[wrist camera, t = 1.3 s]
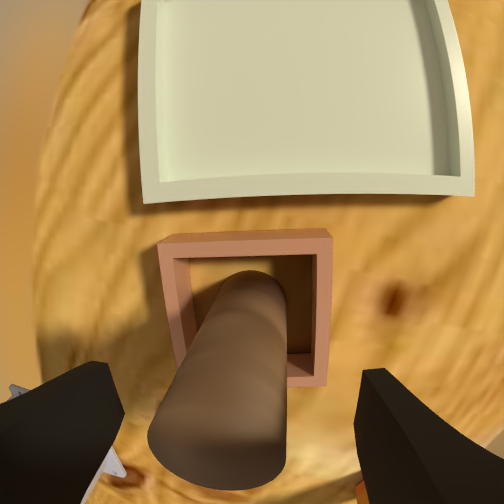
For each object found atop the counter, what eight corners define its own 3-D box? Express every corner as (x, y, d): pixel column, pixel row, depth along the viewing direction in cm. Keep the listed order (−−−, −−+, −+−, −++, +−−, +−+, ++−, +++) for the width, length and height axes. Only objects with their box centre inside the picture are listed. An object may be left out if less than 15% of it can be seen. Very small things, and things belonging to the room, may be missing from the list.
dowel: (220, 333, 15) (164, 482, 7) (214, 271, 14) (131, 398, 6) (286, 332, 15) (284, 492, 6) (285, 269, 14) (286, 409, 5)
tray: (157, 200, 14) (143, 204, 12) (155, -7, 11) (143, -21, 10) (457, 193, 12) (474, 196, 11) (428, -10, 10) (439, -23, 8)
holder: (190, 361, 16) (180, 383, 14) (173, 233, 14) (157, 243, 12) (322, 362, 15) (326, 385, 13) (325, 228, 14) (332, 237, 12)
